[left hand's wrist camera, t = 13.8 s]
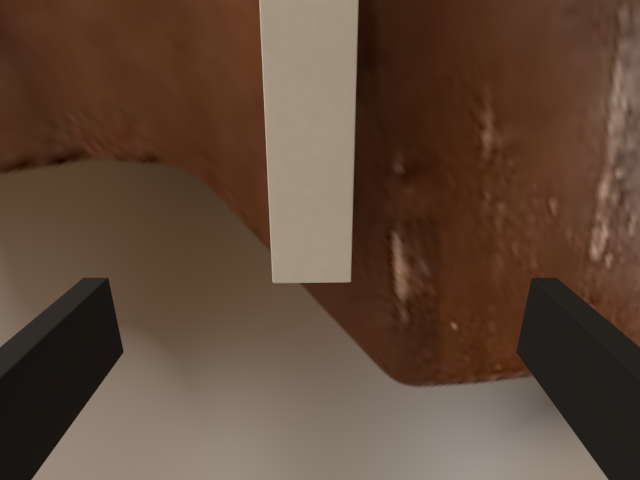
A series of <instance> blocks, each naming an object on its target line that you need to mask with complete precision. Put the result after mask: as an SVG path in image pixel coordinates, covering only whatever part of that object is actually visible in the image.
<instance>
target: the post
mask: <svg viewBox="0 0 640 480" xmlns="http://www.w3.org/2000/svg"><path fill="white" fill-rule="evenodd" d="M259 3H260V24H261V46H262V67H263V88H264V110H265V131H266V153H267V174H268V195H269V217H270V238H271V259H272V281H273V283H330V282H351V260H352V223H353V187H354V150H355V114H356V78H357V41H358V5H359V0H259Z"/></svg>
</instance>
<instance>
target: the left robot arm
mask: <svg viewBox="0 0 640 480" xmlns="http://www.w3.org/2000/svg"><path fill="white" fill-rule="evenodd" d="M122 353H123V347H122V342H121V338H120V333H119V328H118V323H117V318H116V313H115V309H114V304H113V299H112V294H111V289H110V285H109V280H108V278H83V279H82V280H80V281H79V282H78V283H77V284H76V285H74V286H73V287H72V288H71V289H70V290H68V291H67V292H66V293H65V294H64V295H62V296H61V297H60V298H59V299H58V300H56V301H55V302H54V303H53V304H52V305H50V306H49V307H48V308H47V309H46V310H44V311H43V312H42V313H41V314H40V315H38V316H37V317H36V318H35V319H34V320H33V321H31V322H30V323H29V324H28V325H27V326H25V327H24V328H23V329H22V330H21V331H19V332H18V333H17V334H16V335H15V336H13V337H12V338H11V339H10V340H9V341H7V342H6V343H5V344H4V345H3V346H1V347H0V480H31V479H32V478H33V477H34V475H35V474H36V473H37V471H38V470H39V468H40V467H41V466H42V464H43V463H44V461H45V460H46V459H47V457H48V456H49V455H50V453H51V452H52V450H53V449H54V448H55V446H56V445H57V443H58V442H59V441H60V439H61V438H62V437H63V435H64V434H65V432H66V431H67V430H68V428H69V427H70V425H71V424H72V423H73V421H74V420H75V419H76V417H77V416H78V414H79V413H80V412H81V410H82V409H83V408H84V406H85V405H86V403H87V402H88V401H89V399H90V398H91V396H92V395H93V394H94V392H95V391H96V390H97V388H98V387H99V385H100V384H101V383H102V381H103V380H104V378H105V377H106V376H107V374H108V373H109V372H110V370H111V369H112V367H113V366H114V365H115V363H116V362H117V360H118V359H119V358H120V356H121V355H122ZM517 354H518V355H519V356H520V358H521V359H522V360H523V362H524V363H525V365H526V366H527V367H528V369H529V370H530V372H531V373H532V374H533V376H534V377H535V378H536V380H537V381H538V383H539V384H540V385H541V387H542V388H543V389H544V391H545V392H546V394H547V395H548V396H549V398H550V399H551V401H552V402H553V403H554V405H555V406H556V408H557V409H558V410H559V412H560V413H561V414H562V416H563V417H564V419H565V420H566V421H567V423H568V424H569V425H570V427H571V428H572V430H573V431H574V432H575V434H576V435H577V436H578V438H579V439H580V441H581V442H582V443H583V445H584V446H585V448H586V449H587V450H588V452H589V453H590V455H591V456H592V457H593V459H594V460H595V461H596V463H597V464H598V465H599V467H600V468H601V470H602V471H603V472H604V474H605V475H606V477H607V478H608V479H609V480H640V347H639V346H637V345H636V344H635V343H634V342H633V341H631V340H630V339H629V338H628V337H627V336H625V335H624V334H623V333H622V332H621V331H619V330H618V329H617V328H616V327H615V326H614V325H612V324H611V323H610V322H609V321H608V320H606V319H605V318H604V317H603V316H602V315H600V314H599V313H598V312H597V311H596V310H594V309H593V308H592V307H591V306H590V305H588V304H587V303H586V302H585V301H584V300H582V299H581V298H580V297H579V296H578V295H576V294H575V293H574V292H573V291H572V290H570V289H569V288H568V287H567V286H566V285H564V284H563V283H562V282H561V281H560V280H558V279H557V278H532V280H531V284H530V289H529V294H528V299H527V304H526V309H525V313H524V318H523V323H522V328H521V333H520V337H519V342H518V347H517Z"/></svg>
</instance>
